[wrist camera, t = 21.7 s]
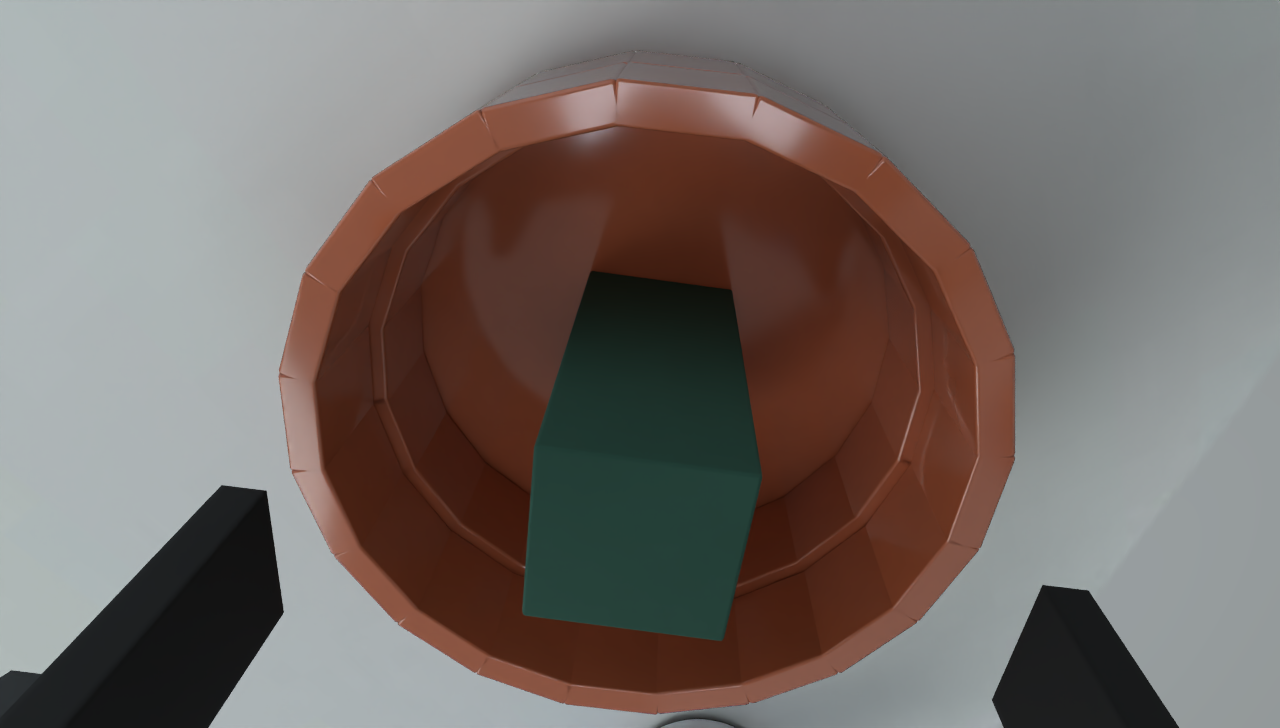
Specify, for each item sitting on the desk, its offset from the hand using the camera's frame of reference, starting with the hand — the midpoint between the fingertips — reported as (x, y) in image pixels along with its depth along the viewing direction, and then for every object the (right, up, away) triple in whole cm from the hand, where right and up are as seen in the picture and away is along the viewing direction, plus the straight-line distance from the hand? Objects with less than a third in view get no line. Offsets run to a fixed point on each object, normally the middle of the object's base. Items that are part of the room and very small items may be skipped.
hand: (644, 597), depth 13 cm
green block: (0, +5, +9) cm, 10 cm away
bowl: (0, +5, +10) cm, 11 cm away
